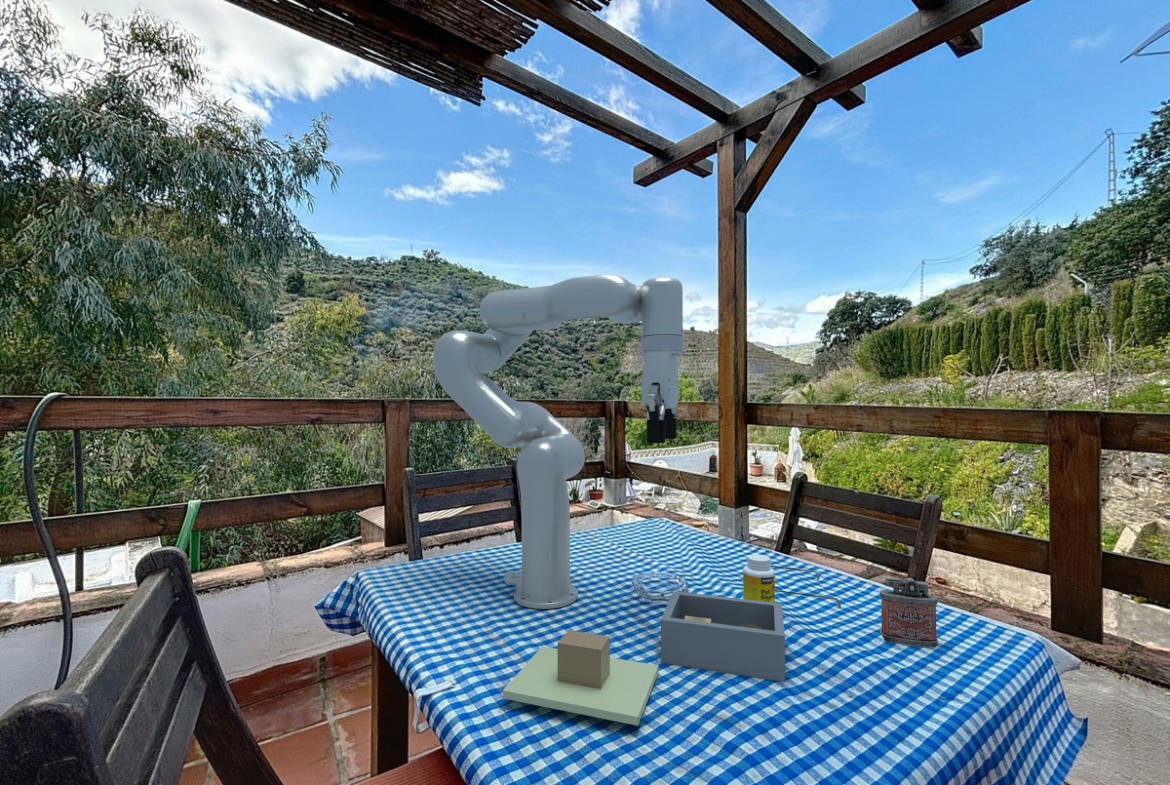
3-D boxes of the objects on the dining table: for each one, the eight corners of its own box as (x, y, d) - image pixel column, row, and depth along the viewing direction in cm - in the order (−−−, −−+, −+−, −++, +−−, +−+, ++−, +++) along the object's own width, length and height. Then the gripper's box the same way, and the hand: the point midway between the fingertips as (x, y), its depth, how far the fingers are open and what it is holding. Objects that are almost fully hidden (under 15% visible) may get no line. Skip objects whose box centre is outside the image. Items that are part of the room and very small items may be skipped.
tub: (660, 667, 77) (660, 619, 77) (673, 633, 89) (673, 591, 89) (785, 687, 72) (784, 636, 72) (782, 648, 83) (781, 603, 83)
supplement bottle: (761, 622, 93) (761, 563, 93) (736, 611, 98) (736, 556, 98) (781, 615, 96) (781, 558, 96) (756, 605, 101) (756, 551, 101)
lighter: (934, 640, 86) (933, 578, 86) (940, 649, 83) (940, 585, 83) (878, 633, 89) (878, 573, 89) (882, 641, 85) (882, 579, 86)
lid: (502, 710, 68) (502, 650, 68) (542, 663, 79) (542, 613, 80) (637, 738, 62) (637, 673, 62) (658, 683, 74) (658, 629, 74)
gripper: (653, 351, 106) (653, 437, 106) (628, 343, 90) (629, 444, 90) (690, 350, 104) (691, 438, 103) (672, 341, 87) (673, 445, 87)
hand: (662, 440), depth 97 cm, fingers open, 9 cm apart
